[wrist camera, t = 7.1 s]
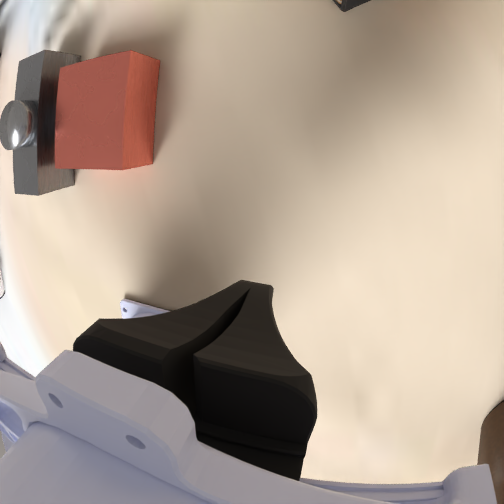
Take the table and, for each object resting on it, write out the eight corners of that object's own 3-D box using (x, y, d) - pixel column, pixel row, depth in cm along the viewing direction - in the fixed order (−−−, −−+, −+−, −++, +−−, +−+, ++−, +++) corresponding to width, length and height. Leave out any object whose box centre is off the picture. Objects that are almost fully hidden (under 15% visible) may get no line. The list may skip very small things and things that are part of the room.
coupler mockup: (134, 189, 23) (82, 206, 17) (48, 183, 25) (1, 197, 19) (144, 40, 18) (93, 21, 13) (53, 64, 20) (5, 60, 15)
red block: (152, 164, 21) (122, 170, 18) (86, 162, 23) (54, 168, 19) (160, 60, 19) (130, 50, 15) (91, 72, 20) (60, 67, 16)
